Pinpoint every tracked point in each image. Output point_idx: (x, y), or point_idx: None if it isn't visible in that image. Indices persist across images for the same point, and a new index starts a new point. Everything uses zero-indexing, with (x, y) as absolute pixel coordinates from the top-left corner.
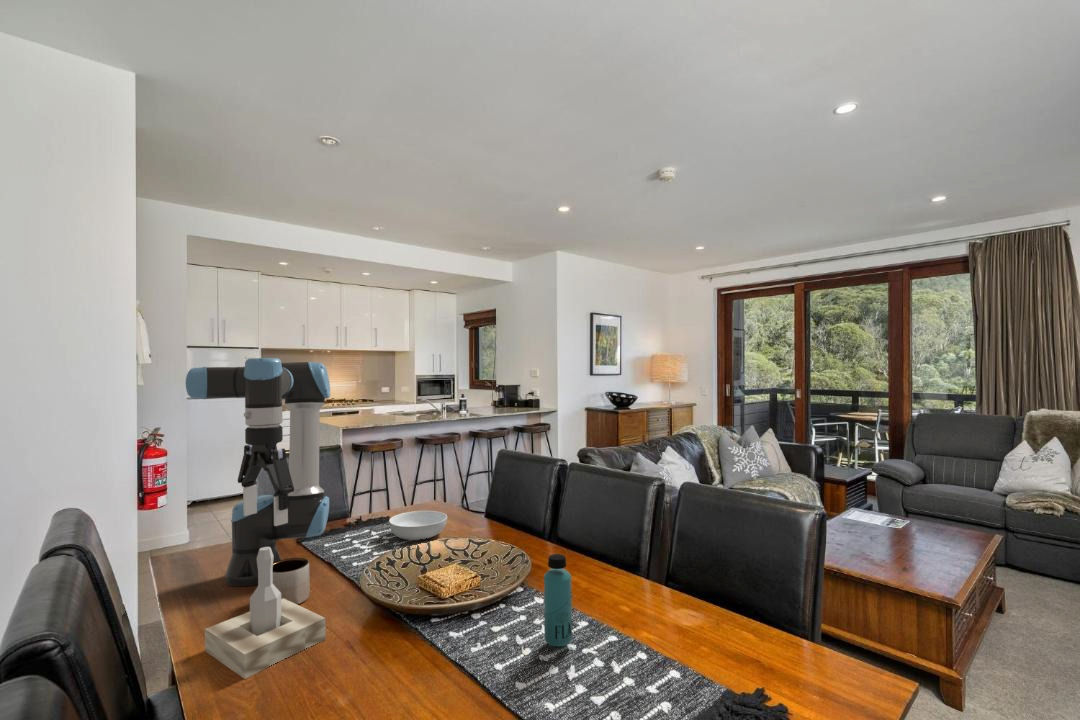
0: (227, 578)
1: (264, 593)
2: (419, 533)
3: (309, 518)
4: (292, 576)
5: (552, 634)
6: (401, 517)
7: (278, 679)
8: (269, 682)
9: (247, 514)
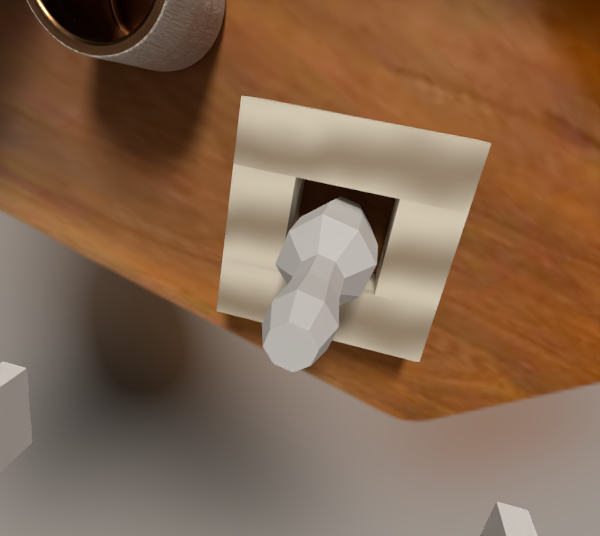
0: None
1: (347, 296)
2: None
3: None
4: (176, 8)
5: None
6: None
7: (491, 313)
8: (480, 326)
9: (26, 433)
